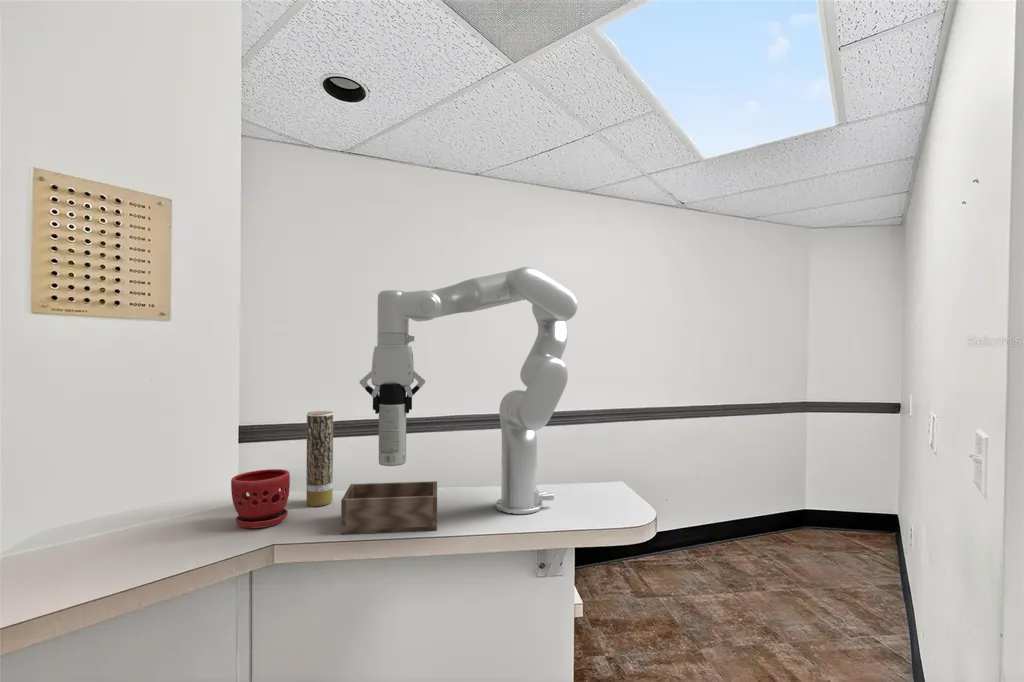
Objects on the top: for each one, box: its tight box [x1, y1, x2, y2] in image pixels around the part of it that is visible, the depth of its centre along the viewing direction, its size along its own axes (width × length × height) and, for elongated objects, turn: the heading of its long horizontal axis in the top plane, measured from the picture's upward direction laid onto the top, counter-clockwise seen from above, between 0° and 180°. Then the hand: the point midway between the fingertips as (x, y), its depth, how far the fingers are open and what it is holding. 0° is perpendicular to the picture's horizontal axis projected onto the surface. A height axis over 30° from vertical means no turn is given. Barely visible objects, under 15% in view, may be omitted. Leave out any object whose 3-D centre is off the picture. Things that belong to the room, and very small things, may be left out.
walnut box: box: [340, 480, 438, 536], centre depth 132 cm, size 22×14×8 cm, turn 98°
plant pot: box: [230, 468, 291, 529], centre depth 131 cm, size 13×13×12 cm
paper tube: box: [305, 410, 334, 507], centre depth 147 cm, size 7×7×25 cm
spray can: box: [378, 384, 407, 467], centre depth 132 cm, size 7×7×20 cm
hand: (392, 412), depth 132 cm, fingers closed on spray can, 6 cm apart
